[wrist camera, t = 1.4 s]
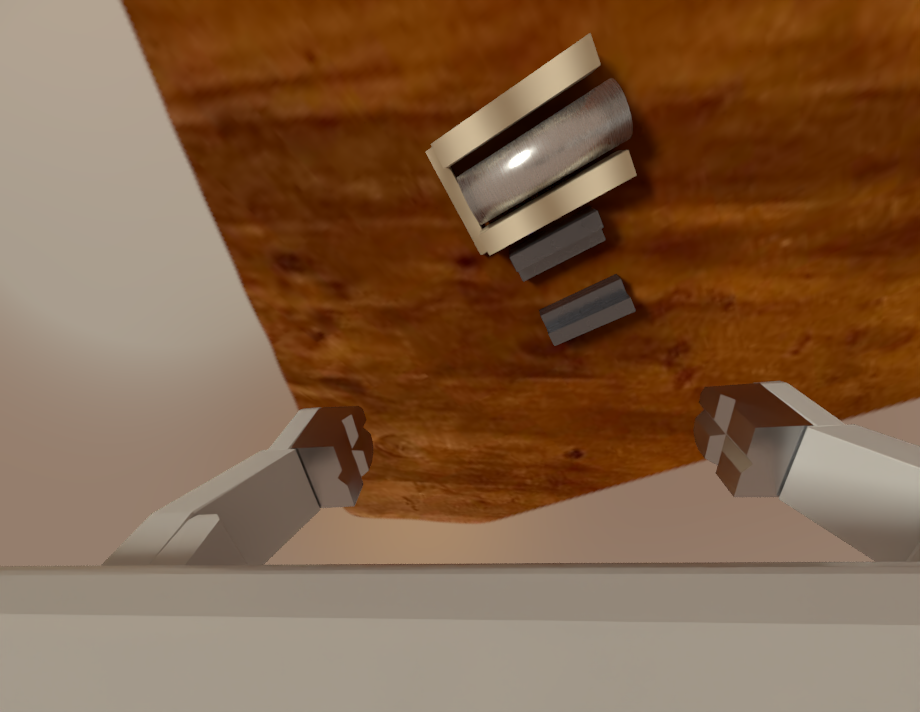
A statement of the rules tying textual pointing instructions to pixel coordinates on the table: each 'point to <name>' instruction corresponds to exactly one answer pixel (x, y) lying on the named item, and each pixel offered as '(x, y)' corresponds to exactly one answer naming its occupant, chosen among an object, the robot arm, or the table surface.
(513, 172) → the axle
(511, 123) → the beige u-shaped bracket
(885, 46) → the table surface
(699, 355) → the table surface
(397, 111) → the table surface
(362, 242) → the table surface
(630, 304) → the dark blocks
